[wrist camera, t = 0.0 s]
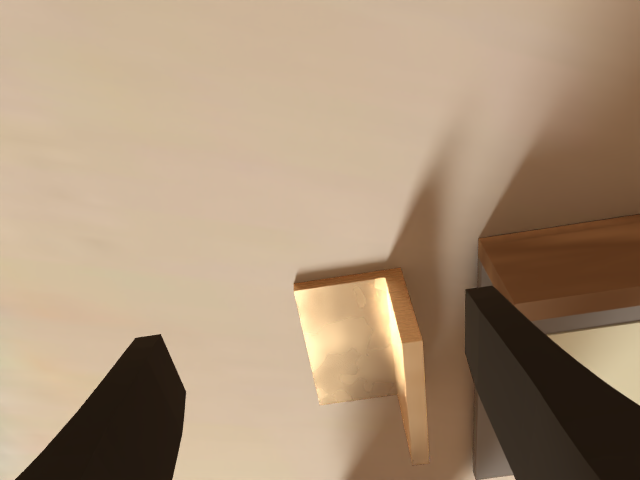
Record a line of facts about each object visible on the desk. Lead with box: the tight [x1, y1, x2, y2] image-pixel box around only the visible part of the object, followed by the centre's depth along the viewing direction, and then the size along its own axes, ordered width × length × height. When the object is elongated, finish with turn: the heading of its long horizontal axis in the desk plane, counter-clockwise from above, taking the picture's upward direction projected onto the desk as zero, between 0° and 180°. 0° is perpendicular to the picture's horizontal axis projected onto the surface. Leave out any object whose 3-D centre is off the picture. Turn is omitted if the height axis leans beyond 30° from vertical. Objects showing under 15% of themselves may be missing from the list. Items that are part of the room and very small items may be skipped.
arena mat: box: [473, 257, 640, 480], centre depth 28 cm, size 18×16×1 cm
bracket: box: [294, 268, 430, 466], centre depth 24 cm, size 8×5×5 cm, turn 9°
